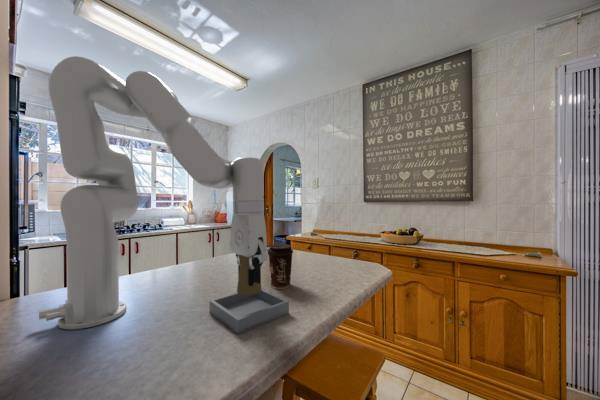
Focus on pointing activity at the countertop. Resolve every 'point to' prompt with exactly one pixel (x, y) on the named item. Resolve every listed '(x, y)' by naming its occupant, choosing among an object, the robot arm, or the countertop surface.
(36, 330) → the countertop surface
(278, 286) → the coffee cup
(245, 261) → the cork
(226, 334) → the countertop surface
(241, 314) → the tray
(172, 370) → the countertop surface
